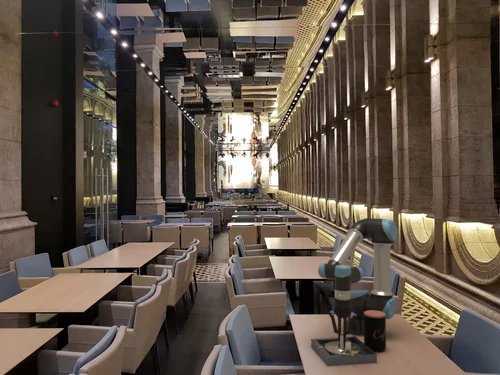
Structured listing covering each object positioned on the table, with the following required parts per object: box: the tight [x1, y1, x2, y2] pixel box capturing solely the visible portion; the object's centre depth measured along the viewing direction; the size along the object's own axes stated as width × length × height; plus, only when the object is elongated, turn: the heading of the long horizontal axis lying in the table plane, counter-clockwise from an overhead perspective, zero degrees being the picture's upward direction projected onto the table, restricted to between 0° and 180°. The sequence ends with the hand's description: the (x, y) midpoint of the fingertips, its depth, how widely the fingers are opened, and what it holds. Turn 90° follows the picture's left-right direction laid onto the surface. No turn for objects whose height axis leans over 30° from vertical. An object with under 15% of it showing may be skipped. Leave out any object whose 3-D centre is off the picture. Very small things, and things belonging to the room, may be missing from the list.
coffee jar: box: [363, 310, 387, 353], centre depth 207 cm, size 11×11×18 cm
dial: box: [325, 338, 360, 355], centre depth 200 cm, size 17×17×6 cm
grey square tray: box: [310, 335, 378, 367], centre depth 200 cm, size 24×24×5 cm
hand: (341, 348), depth 193 cm, fingers closed
